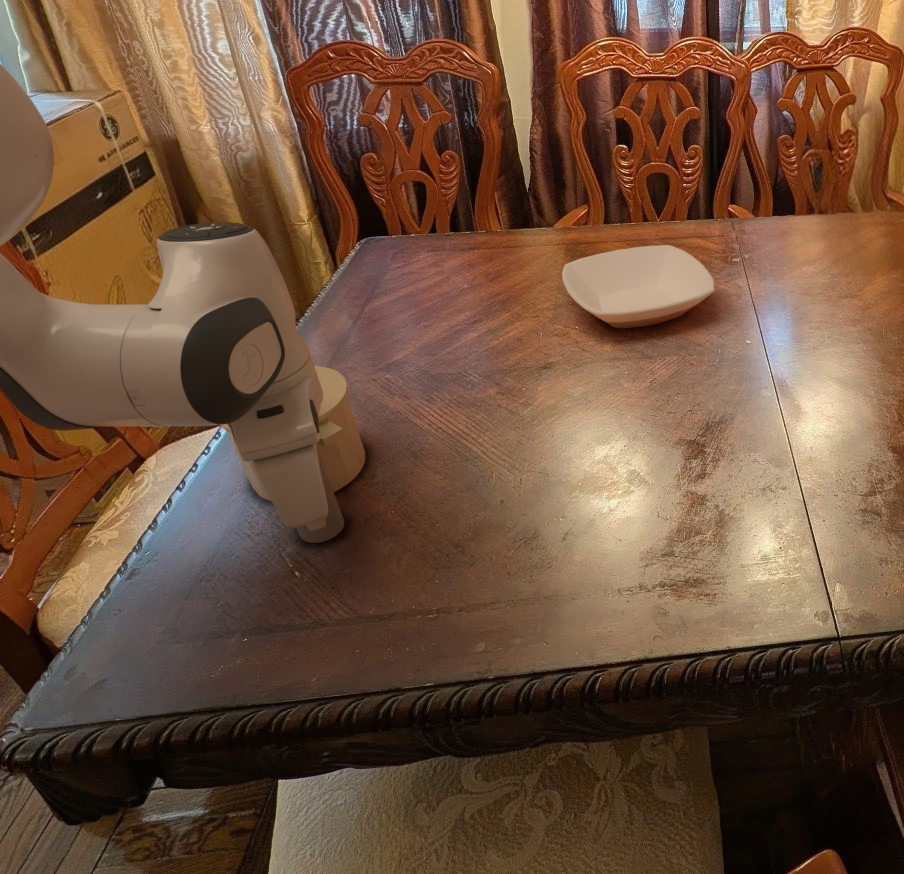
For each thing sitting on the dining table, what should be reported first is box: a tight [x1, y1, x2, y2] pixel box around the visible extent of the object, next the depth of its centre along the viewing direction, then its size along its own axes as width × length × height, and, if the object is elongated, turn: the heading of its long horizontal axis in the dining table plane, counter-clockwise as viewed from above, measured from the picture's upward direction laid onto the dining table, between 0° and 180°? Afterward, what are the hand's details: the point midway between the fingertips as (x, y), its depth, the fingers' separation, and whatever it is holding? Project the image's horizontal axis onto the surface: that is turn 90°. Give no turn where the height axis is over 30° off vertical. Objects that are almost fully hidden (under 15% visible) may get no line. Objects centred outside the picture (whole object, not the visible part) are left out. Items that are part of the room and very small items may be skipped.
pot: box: [226, 395, 366, 502], centre depth 91 cm, size 12×18×10 cm
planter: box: [296, 449, 345, 544], centre depth 82 cm, size 4×4×10 cm
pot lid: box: [219, 365, 349, 433], centre depth 87 cm, size 13×13×4 cm
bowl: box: [561, 244, 716, 329], centre depth 122 cm, size 22×22×5 cm
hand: (313, 503), depth 83 cm, fingers open, 6 cm apart
